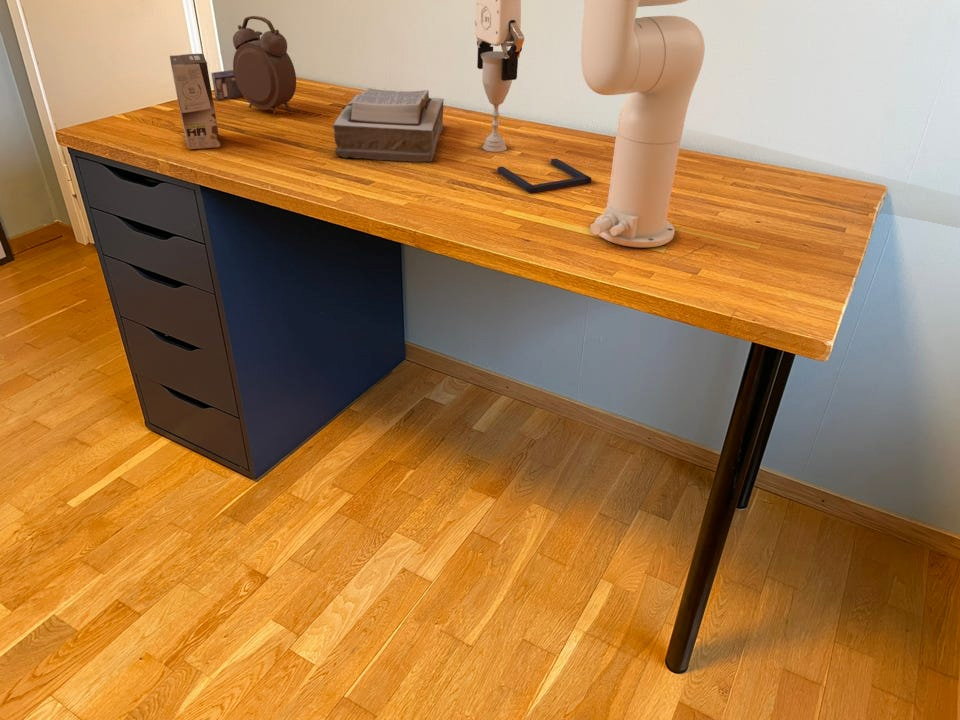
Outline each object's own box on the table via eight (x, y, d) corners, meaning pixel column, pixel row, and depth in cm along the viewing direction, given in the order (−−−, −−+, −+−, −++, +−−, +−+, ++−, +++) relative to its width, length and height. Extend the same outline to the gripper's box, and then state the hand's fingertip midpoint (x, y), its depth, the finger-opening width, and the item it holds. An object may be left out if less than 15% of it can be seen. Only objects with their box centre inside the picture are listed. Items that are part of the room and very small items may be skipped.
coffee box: (221, 147, 147) (207, 62, 138) (187, 150, 145) (170, 64, 136) (217, 134, 154) (203, 52, 145) (185, 136, 152) (168, 54, 143)
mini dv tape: (218, 100, 176) (213, 74, 172) (215, 98, 177) (211, 72, 173) (250, 95, 180) (246, 69, 177) (247, 94, 181) (243, 68, 178)
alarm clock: (304, 112, 169) (294, 18, 158) (281, 119, 164) (270, 22, 153) (259, 102, 175) (247, 10, 164) (236, 108, 170) (221, 14, 159)
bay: (591, 183, 136) (591, 177, 135) (529, 193, 130) (530, 188, 130) (555, 163, 144) (556, 158, 144) (497, 172, 139) (497, 167, 138)
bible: (313, 155, 144) (308, 104, 139) (363, 119, 166) (360, 73, 160) (426, 168, 140) (426, 115, 134) (463, 129, 162) (463, 82, 156)
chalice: (507, 154, 148) (512, 60, 138) (474, 151, 149) (476, 57, 139) (513, 143, 154) (518, 52, 144) (481, 141, 155) (484, 50, 145)
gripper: (461, -30, 139) (459, 65, 148) (506, -17, 126) (501, 86, 136) (496, -31, 142) (492, 62, 151) (543, -18, 129) (535, 83, 139)
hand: (496, 73), depth 143 cm, fingers open, 9 cm apart
